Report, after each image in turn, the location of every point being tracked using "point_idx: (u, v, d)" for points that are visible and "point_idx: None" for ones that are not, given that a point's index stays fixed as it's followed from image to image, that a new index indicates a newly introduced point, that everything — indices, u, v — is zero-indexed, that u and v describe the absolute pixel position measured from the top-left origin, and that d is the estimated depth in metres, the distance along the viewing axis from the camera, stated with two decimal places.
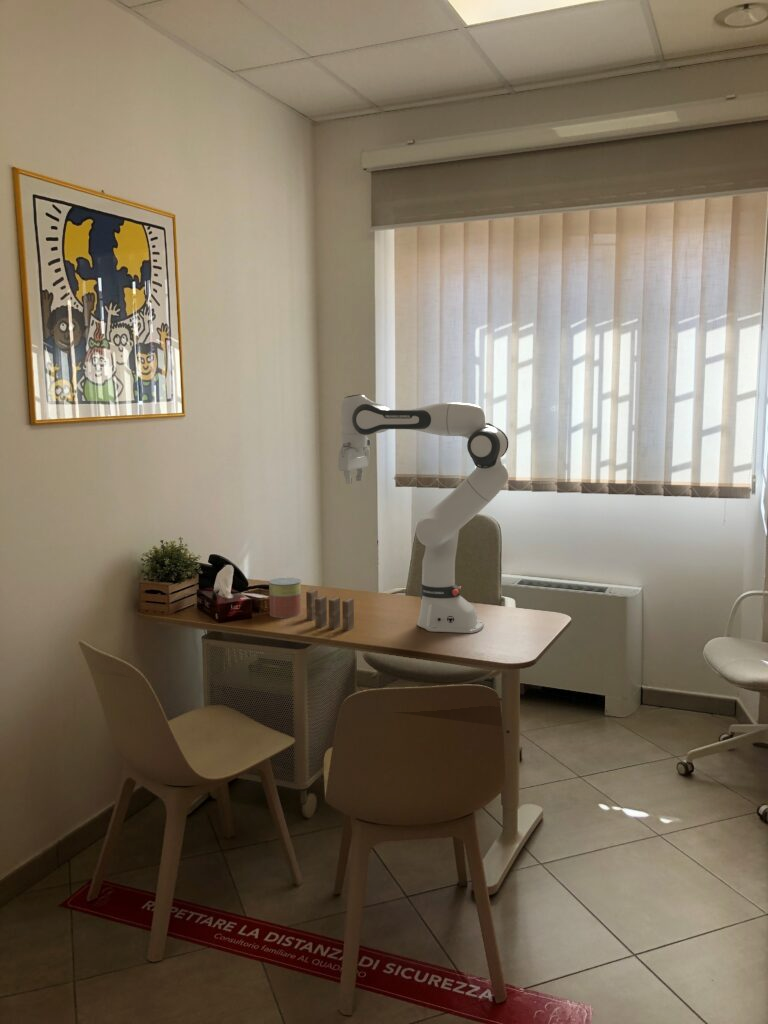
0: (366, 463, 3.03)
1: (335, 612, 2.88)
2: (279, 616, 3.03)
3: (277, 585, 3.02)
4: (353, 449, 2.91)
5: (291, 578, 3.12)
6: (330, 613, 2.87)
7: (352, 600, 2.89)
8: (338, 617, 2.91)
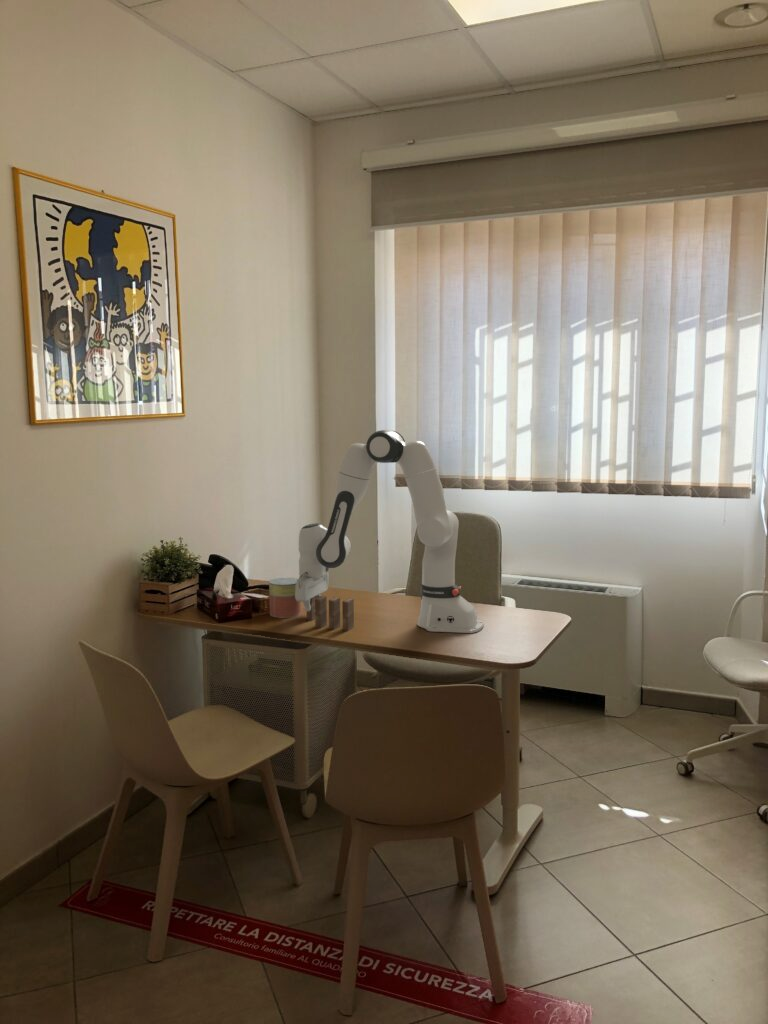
0: (325, 587, 3.07)
1: (335, 612, 2.88)
2: (279, 616, 3.03)
3: (277, 585, 3.02)
4: (310, 579, 2.95)
5: (291, 578, 3.12)
6: (330, 613, 2.87)
7: (352, 600, 2.89)
8: (338, 617, 2.91)
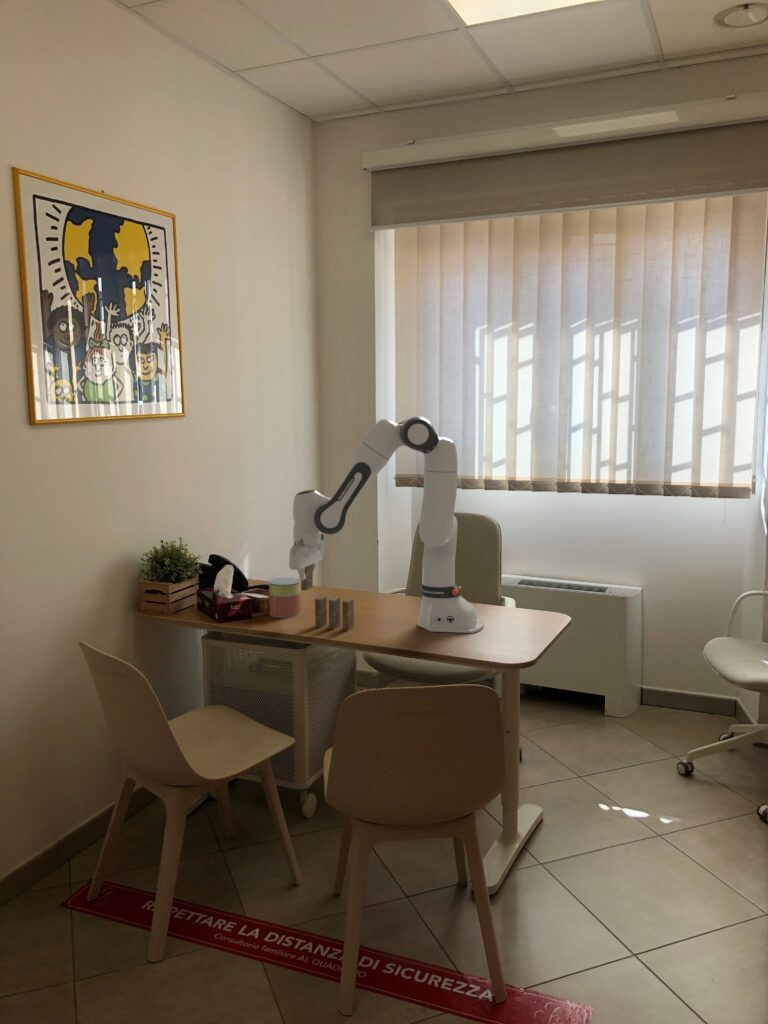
0: (320, 557, 2.97)
1: (335, 612, 2.88)
2: (279, 616, 3.03)
3: (277, 585, 3.02)
4: (305, 546, 2.85)
5: (291, 578, 3.12)
6: (330, 613, 2.87)
7: (352, 600, 2.89)
8: (338, 617, 2.91)
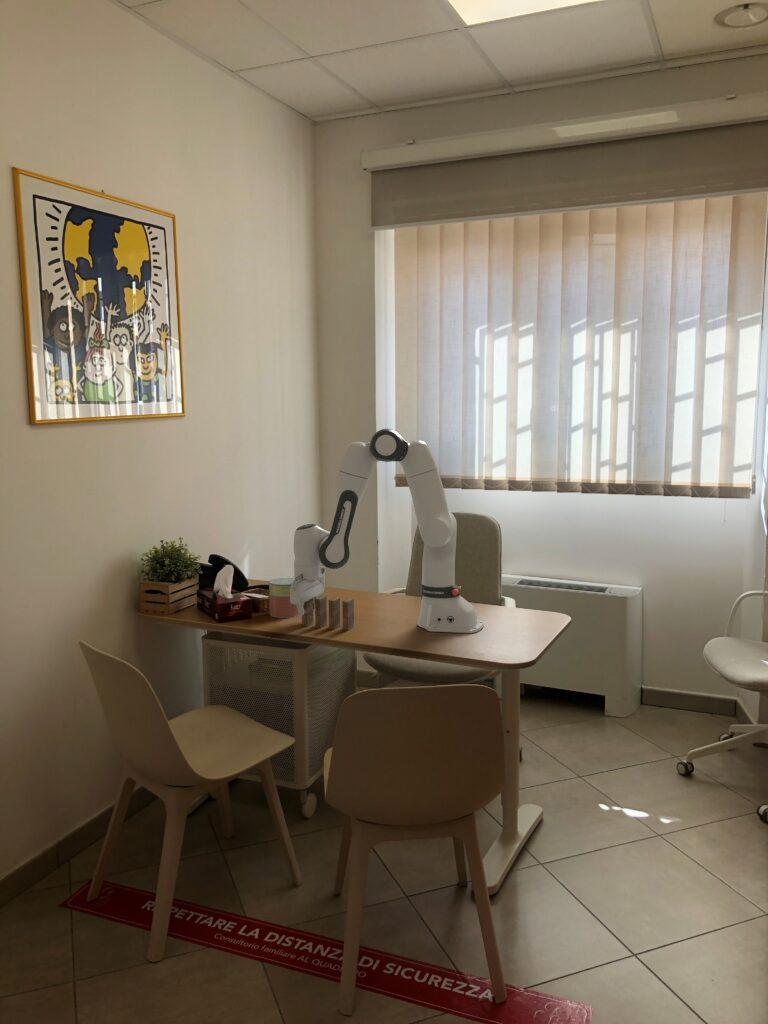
0: (321, 590, 2.99)
1: (335, 612, 2.88)
2: (279, 616, 3.03)
3: (277, 585, 3.02)
4: (306, 581, 2.87)
5: (291, 578, 3.12)
6: (330, 613, 2.87)
7: (352, 600, 2.89)
8: (338, 617, 2.91)
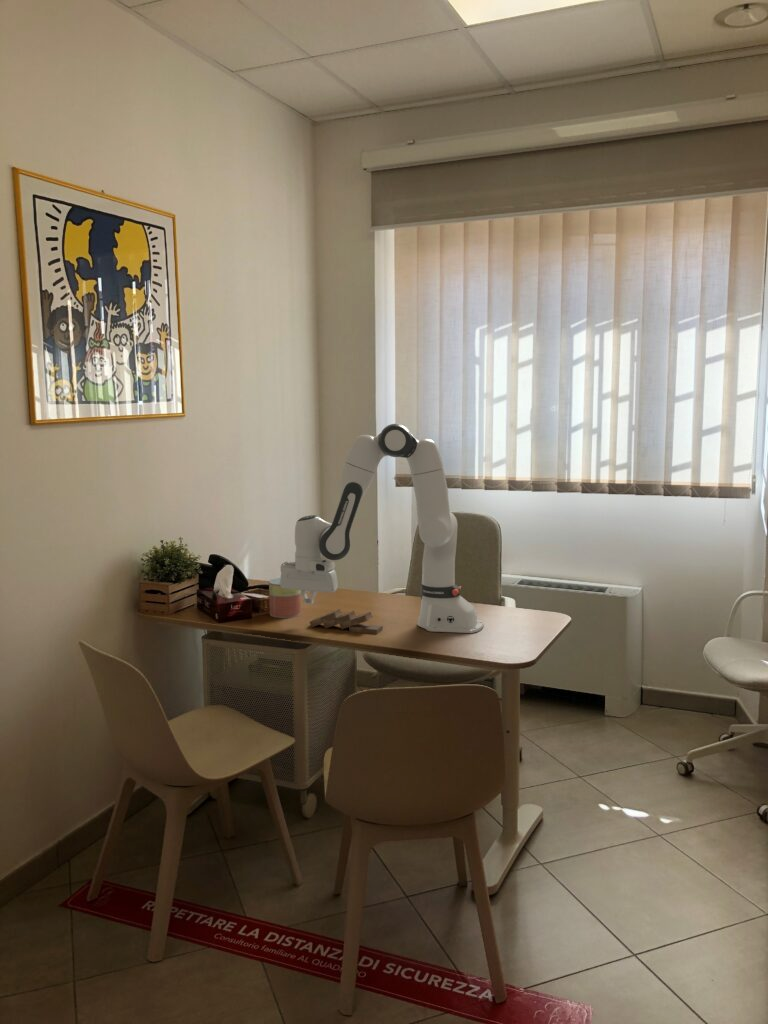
0: (326, 588, 2.88)
1: (357, 623, 2.86)
2: (279, 616, 3.03)
3: (277, 585, 3.02)
4: (294, 569, 2.91)
5: None
6: (354, 620, 2.85)
7: None
8: None
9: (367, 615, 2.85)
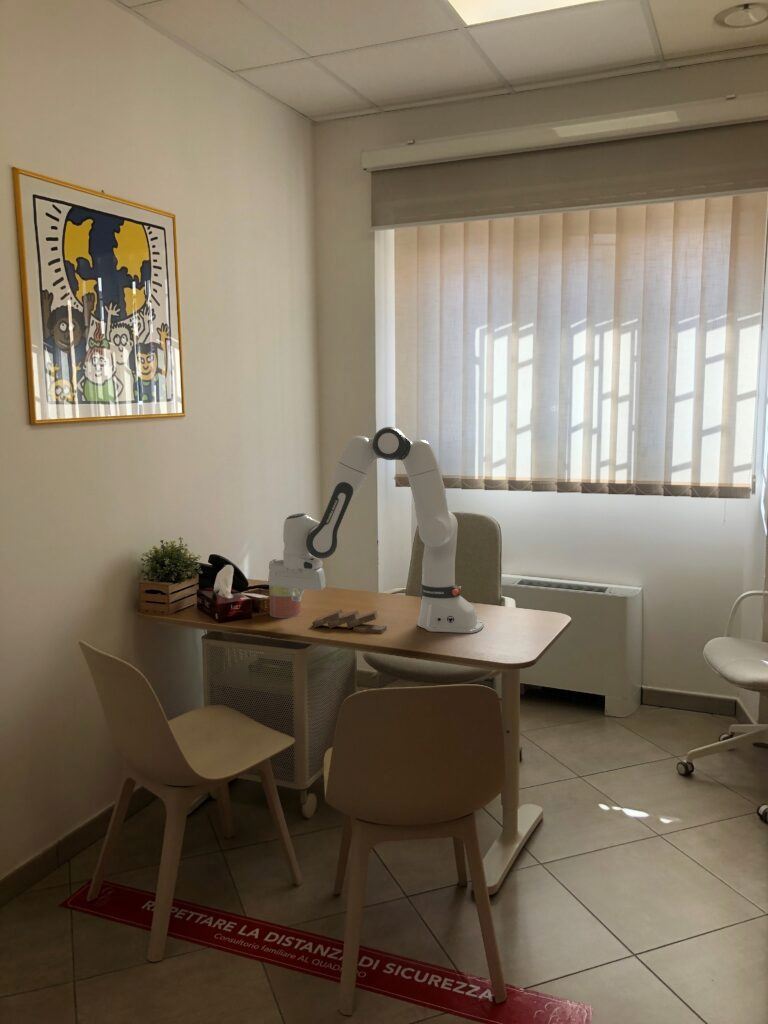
0: (313, 586, 2.89)
1: (364, 622, 2.87)
2: (279, 616, 3.03)
3: None
4: (282, 567, 2.92)
5: None
6: (362, 619, 2.86)
7: None
8: None
9: (375, 614, 2.87)
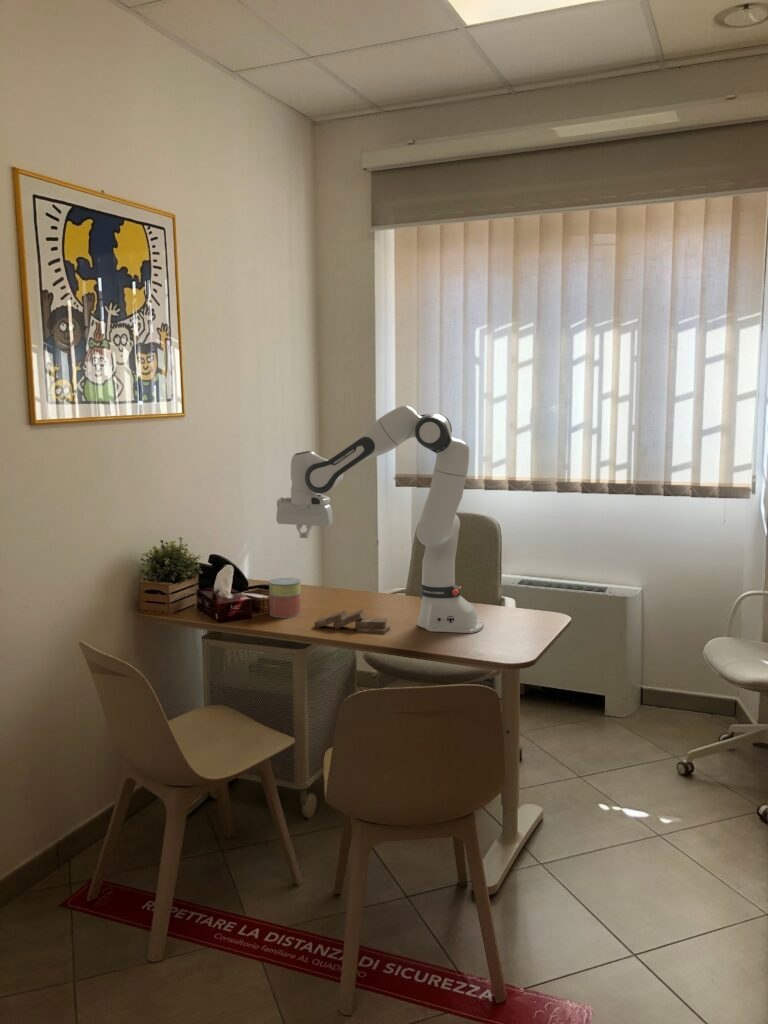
0: (321, 522, 2.93)
1: None
2: (279, 616, 3.03)
3: (277, 585, 3.02)
4: (290, 504, 2.96)
5: (291, 578, 3.12)
6: (371, 623, 2.85)
7: None
8: None
9: (385, 622, 2.86)
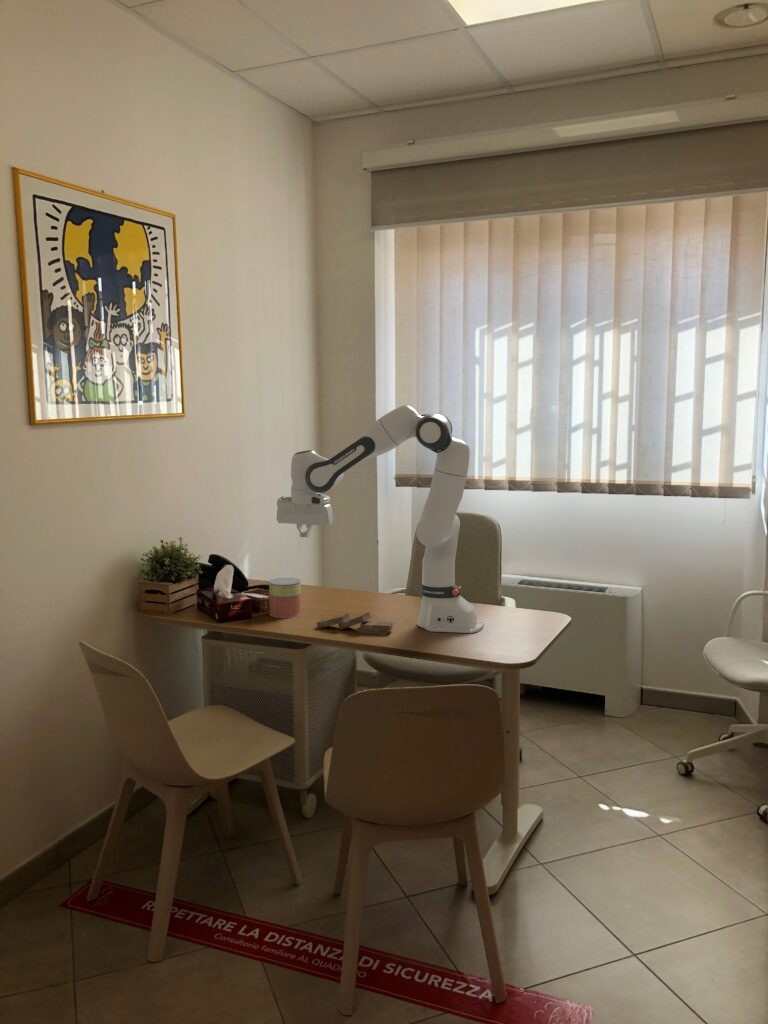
0: (321, 521, 2.93)
1: None
2: (279, 616, 3.03)
3: (277, 585, 3.02)
4: (290, 503, 2.96)
5: (291, 578, 3.12)
6: (376, 627, 2.82)
7: None
8: None
9: (391, 626, 2.83)
